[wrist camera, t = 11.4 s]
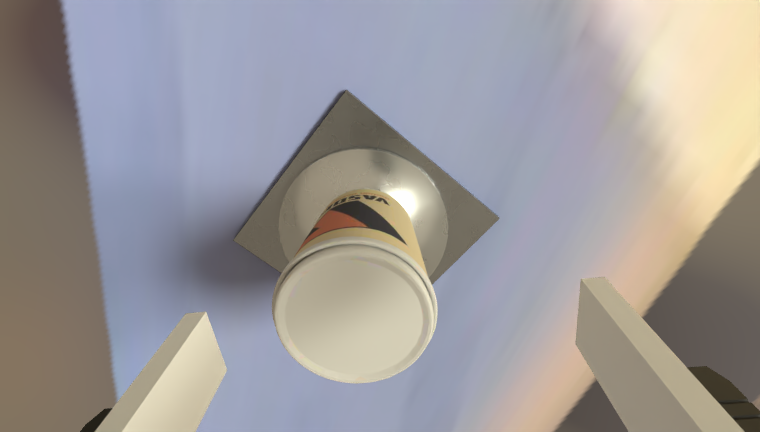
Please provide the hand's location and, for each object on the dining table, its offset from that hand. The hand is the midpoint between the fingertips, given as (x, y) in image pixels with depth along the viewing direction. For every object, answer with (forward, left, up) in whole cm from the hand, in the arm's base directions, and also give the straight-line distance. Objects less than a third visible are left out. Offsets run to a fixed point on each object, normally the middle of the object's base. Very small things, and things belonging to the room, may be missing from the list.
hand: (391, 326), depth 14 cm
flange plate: (+5, +1, -20) cm, 20 cm away
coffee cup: (+5, +1, -19) cm, 19 cm away
